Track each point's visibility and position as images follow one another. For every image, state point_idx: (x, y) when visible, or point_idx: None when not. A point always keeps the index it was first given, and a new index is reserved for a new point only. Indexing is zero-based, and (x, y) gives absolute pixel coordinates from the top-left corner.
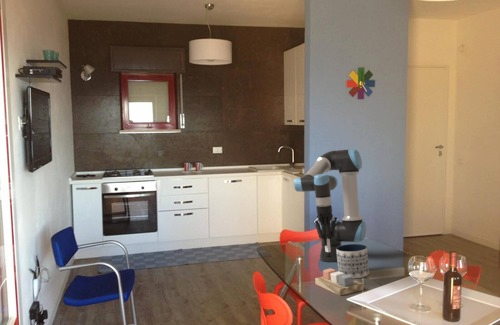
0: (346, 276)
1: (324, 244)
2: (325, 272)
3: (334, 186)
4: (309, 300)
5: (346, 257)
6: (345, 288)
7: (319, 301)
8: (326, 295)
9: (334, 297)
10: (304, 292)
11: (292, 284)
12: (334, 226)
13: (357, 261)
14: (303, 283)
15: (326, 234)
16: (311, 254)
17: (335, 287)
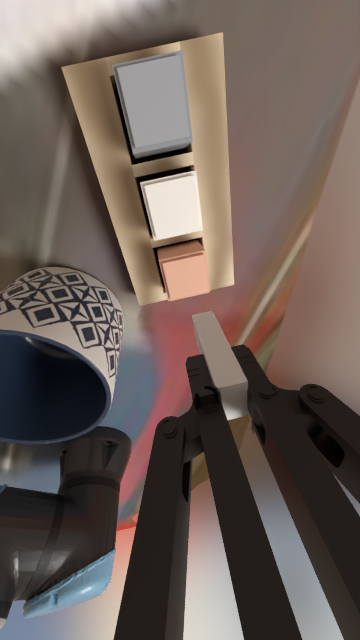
0: (152, 98)
1: (250, 356)
2: (207, 271)
3: None
4: (356, 74)
5: (80, 326)
6: (182, 42)
7: (337, 17)
8: (262, 105)
9: (248, 39)
10: (305, 204)
11: (284, 305)
12: (135, 618)
13: (28, 296)
14: (254, 300)
15: (275, 438)
16: (137, 473)
17: (225, 92)
